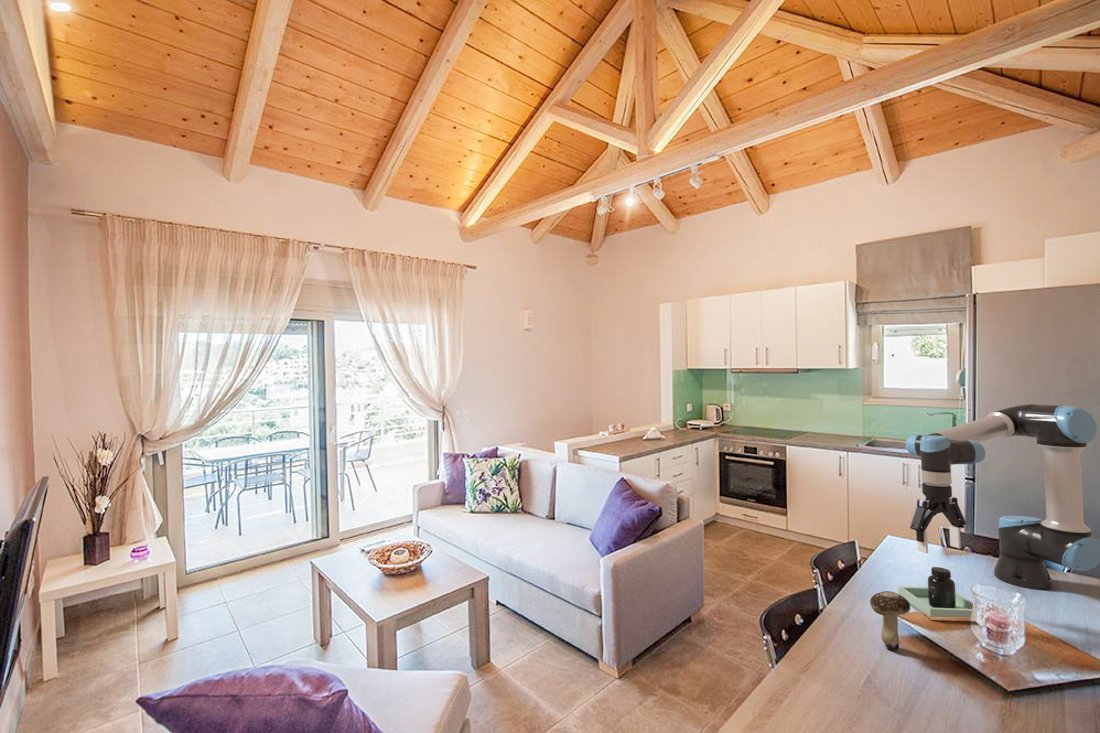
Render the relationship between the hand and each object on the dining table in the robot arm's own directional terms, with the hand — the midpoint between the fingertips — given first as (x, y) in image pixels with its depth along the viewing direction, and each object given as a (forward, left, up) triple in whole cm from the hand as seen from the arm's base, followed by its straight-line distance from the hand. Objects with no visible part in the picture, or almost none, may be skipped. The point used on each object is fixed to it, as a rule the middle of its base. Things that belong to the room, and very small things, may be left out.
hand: (939, 549), depth 155 cm
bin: (0, 0, -19) cm, 19 cm away
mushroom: (+29, +25, -19) cm, 43 cm away
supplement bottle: (0, +1, -19) cm, 19 cm away
